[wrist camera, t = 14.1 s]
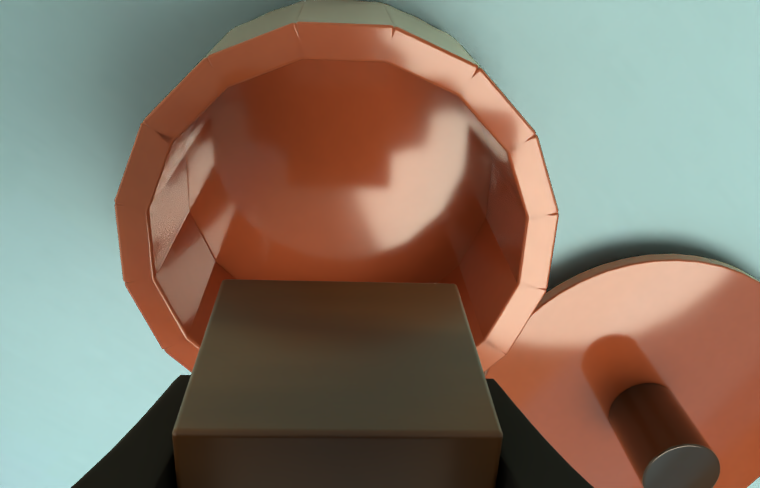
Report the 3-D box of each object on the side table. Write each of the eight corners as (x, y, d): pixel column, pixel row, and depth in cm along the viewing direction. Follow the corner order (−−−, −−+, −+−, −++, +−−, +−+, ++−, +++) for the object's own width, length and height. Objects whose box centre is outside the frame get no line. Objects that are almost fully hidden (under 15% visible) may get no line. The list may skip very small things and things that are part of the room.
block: (230, 463, 15) (190, 661, 11) (221, 277, 13) (169, 431, 9) (439, 464, 15) (472, 657, 11) (458, 281, 14) (505, 433, 10)
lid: (593, 559, 29) (632, 657, 26) (403, 390, 26) (414, 476, 22) (849, 393, 27) (937, 476, 23) (679, 175, 23) (749, 229, 19)
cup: (335, 383, 25) (334, 486, 21) (89, 173, 22) (23, 242, 17) (580, 186, 23) (640, 254, 18) (346, -89, 19) (347, -90, 15)
